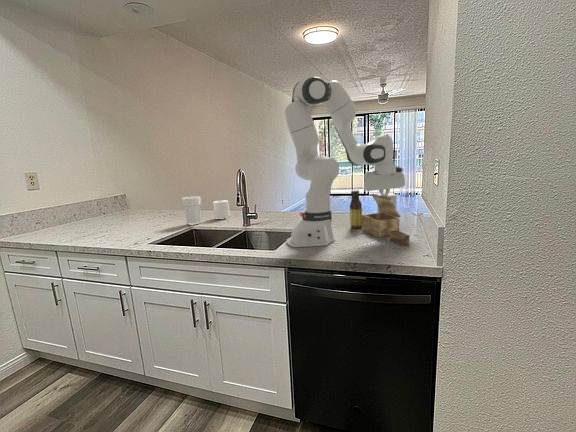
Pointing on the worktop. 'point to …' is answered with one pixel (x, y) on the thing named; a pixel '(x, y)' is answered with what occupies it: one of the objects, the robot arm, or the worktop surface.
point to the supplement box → (393, 200)
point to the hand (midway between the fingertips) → (384, 198)
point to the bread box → (379, 224)
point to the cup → (192, 208)
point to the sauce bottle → (355, 210)
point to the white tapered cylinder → (221, 209)
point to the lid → (386, 205)
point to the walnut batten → (400, 238)
